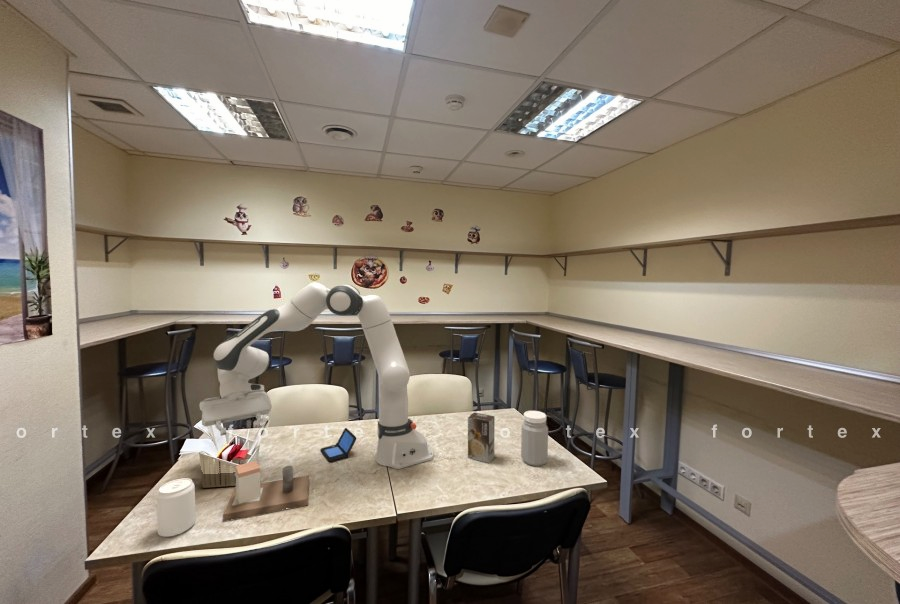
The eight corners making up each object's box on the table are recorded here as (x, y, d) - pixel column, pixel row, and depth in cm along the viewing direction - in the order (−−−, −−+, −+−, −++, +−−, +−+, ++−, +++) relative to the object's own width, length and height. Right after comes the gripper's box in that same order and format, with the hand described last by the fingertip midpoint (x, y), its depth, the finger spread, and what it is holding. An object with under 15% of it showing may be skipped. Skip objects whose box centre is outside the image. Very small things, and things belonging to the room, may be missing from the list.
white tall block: (256, 488, 111) (256, 460, 110) (260, 496, 106) (260, 467, 106) (236, 494, 107) (235, 466, 107) (239, 503, 103) (238, 473, 102)
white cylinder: (151, 541, 91) (149, 496, 90) (167, 521, 99) (165, 479, 98) (187, 535, 93) (186, 491, 92) (200, 516, 101) (199, 475, 100)
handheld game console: (319, 451, 141) (319, 433, 141) (346, 444, 147) (346, 426, 147) (329, 464, 131) (328, 444, 131) (357, 456, 137) (357, 437, 137)
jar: (548, 468, 128) (549, 420, 127) (521, 465, 130) (521, 417, 129) (546, 455, 138) (547, 410, 137) (521, 453, 140) (521, 408, 139)
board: (309, 480, 119) (309, 455, 119) (307, 505, 106) (307, 476, 106) (234, 493, 112) (234, 465, 111) (223, 521, 99) (222, 490, 98)
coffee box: (495, 456, 137) (495, 416, 136) (489, 463, 131) (489, 421, 131) (473, 451, 141) (474, 411, 141) (466, 458, 136) (467, 417, 135)
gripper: (199, 394, 114) (202, 434, 107) (268, 384, 127) (275, 418, 120) (198, 404, 118) (201, 443, 111) (266, 393, 131) (272, 427, 124)
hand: (240, 430), depth 116 cm, fingers open, 8 cm apart
